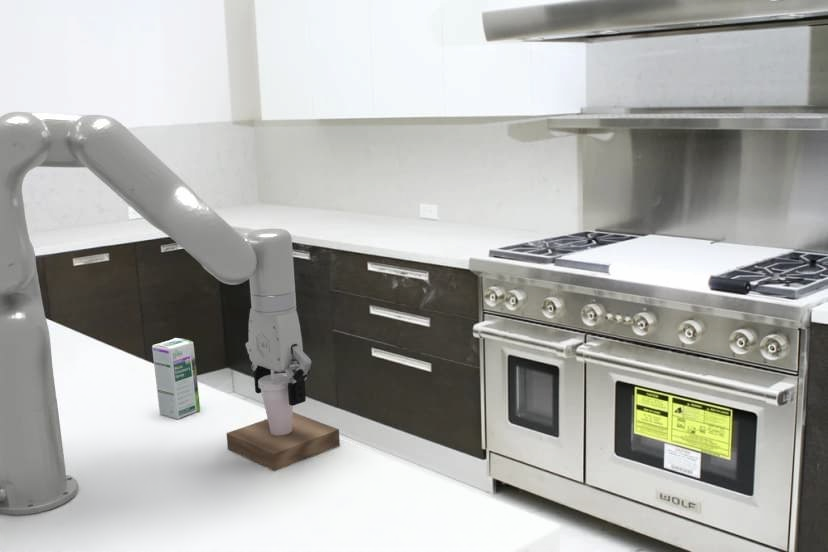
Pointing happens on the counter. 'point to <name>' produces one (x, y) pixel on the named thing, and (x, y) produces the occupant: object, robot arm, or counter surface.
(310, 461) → the counter surface
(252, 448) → the walnut base
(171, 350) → the syrup box
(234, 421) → the counter surface
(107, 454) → the counter surface
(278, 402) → the smoothie
